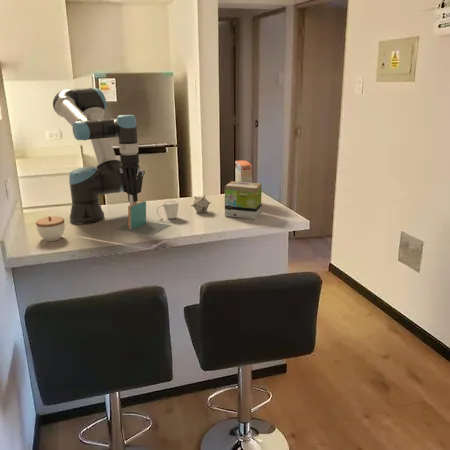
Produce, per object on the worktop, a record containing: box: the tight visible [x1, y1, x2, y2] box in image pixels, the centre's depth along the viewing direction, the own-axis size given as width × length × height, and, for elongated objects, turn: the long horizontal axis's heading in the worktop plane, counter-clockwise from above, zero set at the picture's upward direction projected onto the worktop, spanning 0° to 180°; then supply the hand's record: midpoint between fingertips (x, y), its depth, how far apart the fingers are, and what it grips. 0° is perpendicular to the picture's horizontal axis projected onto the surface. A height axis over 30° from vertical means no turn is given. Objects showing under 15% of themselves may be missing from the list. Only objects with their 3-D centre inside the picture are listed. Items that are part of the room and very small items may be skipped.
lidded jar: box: [35, 215, 66, 242], centre depth 190 cm, size 11×11×9 cm
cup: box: [156, 199, 180, 220], centre depth 213 cm, size 7×10×8 cm
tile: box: [127, 200, 147, 230], centre depth 202 cm, size 2×10×10 cm, turn 154°
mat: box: [114, 220, 172, 236], centre depth 202 cm, size 20×14×1 cm
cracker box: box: [234, 159, 253, 183], centre depth 234 cm, size 14×6×21 cm, turn 10°
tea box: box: [224, 180, 263, 220], centre depth 217 cm, size 15×10×15 cm, turn 71°
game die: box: [190, 194, 212, 214], centre depth 223 cm, size 9×8×10 cm
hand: (133, 208), depth 201 cm, fingers closed
